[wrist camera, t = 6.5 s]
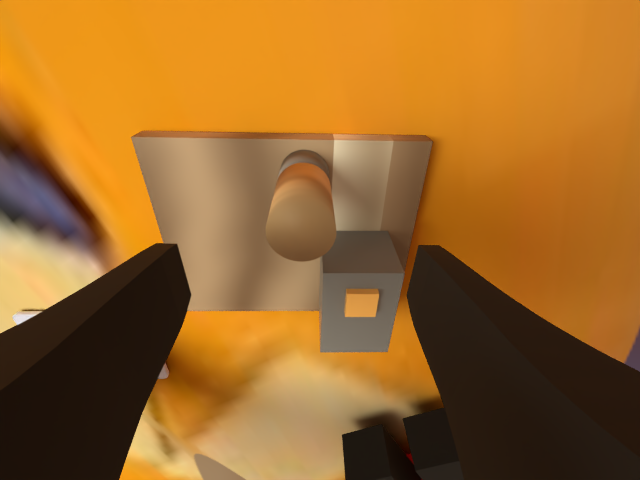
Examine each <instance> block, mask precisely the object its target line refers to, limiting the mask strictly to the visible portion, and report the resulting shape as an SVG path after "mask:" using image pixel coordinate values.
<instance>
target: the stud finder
mask: <svg viewBox="0 0 640 480" xmlns="http://www.w3.org/2000/svg"><path fill="white" fill-rule="evenodd" d="M404 274H405V273H404V270H403V268H402V265H401V263H400V260H399V258H398V255H397V253H396V250H395V248H394V245H393V243H392V240H391V238H390V235H389V233H388V231H336V239H335V242H334V244H333V246H332V247H331V249H330V250H329V251H328V252H327V253H326V254H324V255H323V256H321V257H320V287H319V320H320V352H388V347H389V343H390V338H391V334H392V329H393V325H394V320H395V315H396V311H397V306H398V302H399V297H400V293H401V288H402V284H403V279H404Z"/></svg>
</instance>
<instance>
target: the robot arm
mask: <svg viewBox="0 0 640 480" xmlns="http://www.w3.org/2000/svg"><path fill="white" fill-rule="evenodd" d="M190 299H191V291H190V288H189V284H188V280H187V277H186V273H185V270H184V266H183V262H182V259H181V255H180V252H179V248H178V244H170V243H156V244H154V245H152V246H150V247H149V248H147V249H145V250H143V251H142V252H140V253H138V254H137V255H135V256H134V257H132V258H130V259H129V260H127V261H126V262H124V263H122V264H121V265H119V266H118V267H116V268H114V269H113V270H111V271H110V272H108V273H106V274H105V275H103V276H102V277H100V278H98V279H97V280H95V281H94V282H92V283H90V284H89V285H87V286H86V287H84V288H82V289H80V290H79V291H77V292H75V293H73V294H72V295H70V296H68V297H67V298H65V299H63V300H61V301H60V302H58V303H56V304H55V305H53V306H51V307H49V308H48V309H46V310H44V311H19V312H17V313H15V314H14V315H13V320H14V321H15V322H16V324H17V325H16V326H14V327H12V328H10V329H8V330H6V331H4V332H2V333H0V480H119V478H120V475H121V472H122V469H123V466H124V463H125V460H126V457H127V454H128V451H129V448H130V446H131V443H132V440H133V437H134V434H135V432H136V429H137V426H138V423H139V420H140V417H141V415H142V412H143V410H144V408H145V405H146V403H147V400H148V398H149V396H150V394H151V392H152V389H153V387H154V385H155V383H156V381H157V379H165V378H167V377H168V375H169V370H168V368H167V365H166V363H165V362H166V360H167V358H168V355H169V353H170V351H171V349H172V347H173V345H174V343H175V340H176V338H177V336H178V334H179V332H180V329H181V327H182V325H183V322H184V319H185V316H186V313H187V309H188V306H189V302H190ZM407 299H408V304H409V308H410V313H411V317H412V321H413V325H414V328H415V330H416V333H417V336H418V338H419V341H420V344H421V346H422V349H423V352H424V354H425V357H426V359H427V362H428V364H429V367H430V370H431V372H432V375H433V377H434V380H435V383H436V385H437V388H438V390H439V393H440V396H441V399H442V402H443V405H444V408H445V410H446V414H447V417H448V421H449V425H450V428H451V432H452V435H453V439H454V443H455V446H456V450H457V454H458V458H459V462H460V466H461V469H462V473H463V477H464V480H640V372H639V371H637V370H635V369H633V368H631V367H629V366H627V365H626V364H624V363H622V362H620V361H618V360H616V359H614V358H612V357H610V356H608V355H606V354H604V353H602V352H600V351H598V350H597V349H595V348H593V347H591V346H589V345H587V344H586V343H584V342H582V341H580V340H579V339H577V338H575V337H573V336H572V335H570V334H568V333H567V332H565V331H563V330H561V329H560V328H558V327H556V326H554V325H553V324H551V323H550V322H548V321H546V320H545V319H543V318H541V317H540V316H538V315H537V314H535V313H534V312H532V311H531V310H529V309H528V308H526V307H525V306H523V305H522V304H520V303H518V302H517V301H515V300H514V299H512V298H511V297H510V296H508V295H507V294H505V293H504V292H502V291H501V290H500V289H498V288H497V287H495V286H494V285H493V284H491V283H490V282H488V281H487V280H486V279H484V278H483V277H482V276H480V275H479V274H478V273H476V272H475V271H474V270H472V269H471V268H470V267H468V266H467V265H466V264H464V263H463V262H462V261H460V260H459V259H458V258H456V257H455V256H454V255H452V254H451V253H449V252H448V251H447V250H445V249H444V248H442V247H441V246H439V245H419V246H418V250H417V254H416V258H415V263H414V267H413V271H412V275H411V279H410V284H409V288H408V292H407Z"/></svg>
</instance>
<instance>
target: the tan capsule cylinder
mask: <svg viewBox="0 0 640 480" xmlns="http://www.w3.org/2000/svg"><path fill="white" fill-rule="evenodd" d="M266 238H267V241H268V243H269V245H270V246H271V248H272V249H273V250H274V251H275V252H276V253H277V254H279V255H280V256H282V257H284V258H286V259H289V260H292V261H299V262H304V261H311V260H315V259H317V258H319V257H321V256H323V255H324V254H326V253H327V252H328V251H329V250H330V249H331V247H332V246H333V244H334V242H335V239H336V223H335V215H334V208H333V200H332V192H331V185H330V177H329V170H328V166H327V163H326V162H325V160H324V159H323V158H322V157H321V156H320V155H319V154H318V153H316V152H314V151H311V150H297V151H294V152H292V153H290V154H289V155H288V156H287V157H286V158H285V159H284V160H283V162H282V164H281V167H280V171H279V175H278V179H277V183H276V187H275V191H274V195H273V199H272V203H271V207H270V211H269V215H268V219H267V223H266Z"/></svg>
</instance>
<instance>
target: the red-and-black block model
mask: <svg viewBox="0 0 640 480" xmlns="http://www.w3.org/2000/svg"><path fill="white" fill-rule="evenodd" d="M403 422H404V426H405V430H406V434H407V438H408V443H409V447H410V451H411V454H407V455H406V454H405V453H404V452H403V450H402V449H401V448H400V447H399V445H398V444H397V443H396V442H395V440H394V439H393V438H392V436H391V435H390V434H389V433H388V431H387V430H386V429H385V427H384V426H383V425H382V424H380V425H377V426H373V427H369V428H365V429H362V430H358V431H354V432H350V433H347V434H343V435H342V440H343V453H344V466H345V479H346V480H464V477H463V473H462V469H461V466H460V462H459V458H458V454H457V450H456V446H455V443H454V439H453V435H452V432H451V428H450V425H449V421H448V417H447V414H446V410H445V408H440V409H437V410H433V411H429V412H425V413H422V414H418V415H414V416H410V417H407V418H403Z"/></svg>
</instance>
